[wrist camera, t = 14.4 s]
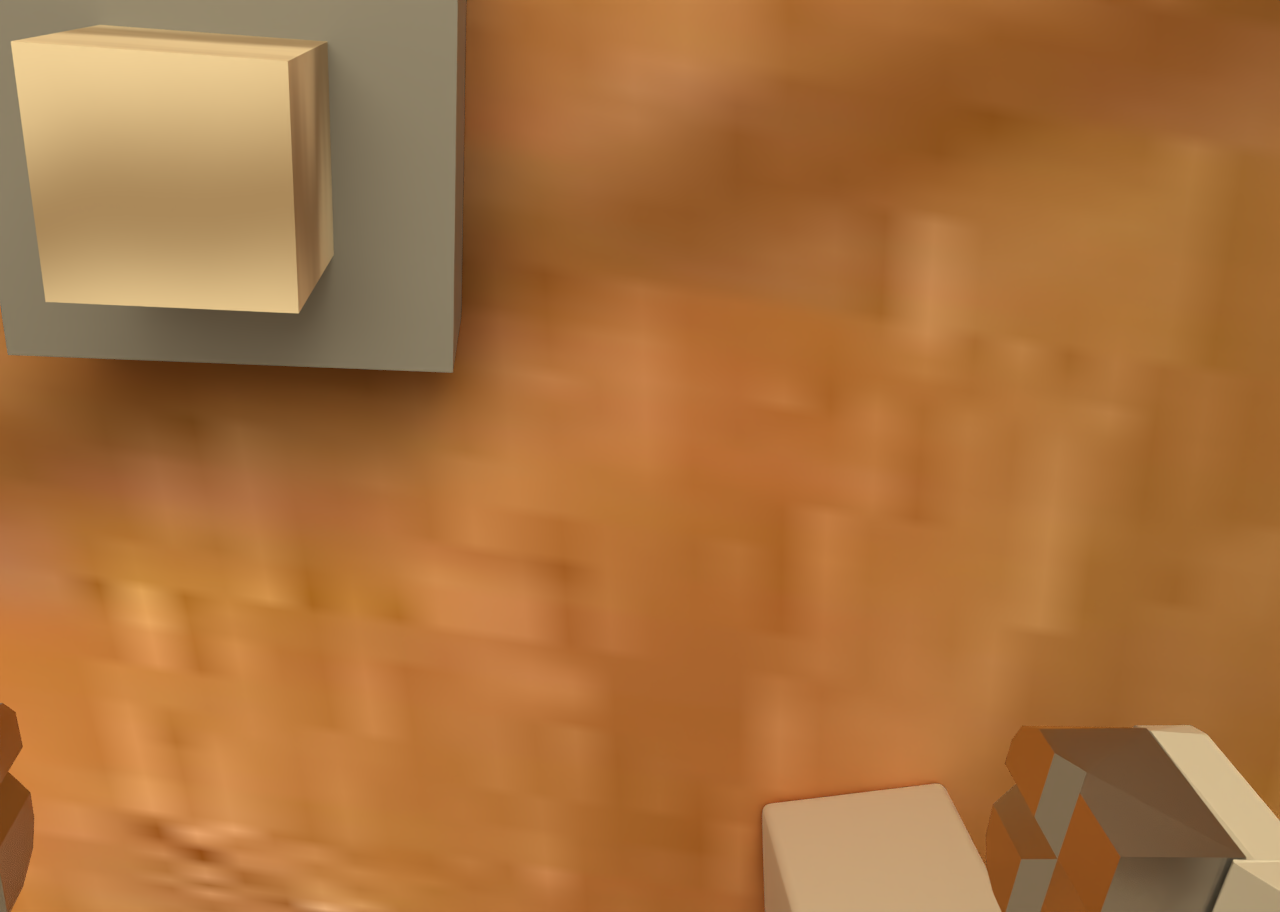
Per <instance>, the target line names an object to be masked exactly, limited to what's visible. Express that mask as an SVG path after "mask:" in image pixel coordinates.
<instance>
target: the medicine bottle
mask: <svg viewBox="0 0 1280 912" xmlns="http://www.w3.org/2000/svg"><path fill="white" fill-rule="evenodd" d="M762 835H763V869H764V903H765V912H1001V909H1000V907H999V905H998V903H997V901H996V898H995V896H994V894H993V891H992V887H991V883H990V879H989V875H988V871H987V869H986V867H985V865H984V863H983V861H982V859H981V857H980V855H979V853H978V851H977V849H976V847H975V845H974V843H973V841H972V839H971V837H970V835H969V833H968V831H967V829H966V827H965V825H964V823H963V821H962V819H961V818H960V816H959V814H958V812H957V810H956V808H955V806H954V804H953V802H952V800H951V798H950V796H949V794H948V792H947V790H946V788H945V787H944V786H942V785H941V784H937V783H935V784H926V785H918V786H910V787H902V788H894V789H885V790H877V791H869V792H861V793H852V794H844V795H836V796H828V797H819V798H811V799H803V800H795V801H787V802H778V803H770V804H767V805H766V806H765V807H763V810H762Z"/></svg>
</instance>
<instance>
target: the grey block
mask: <svg viewBox="0 0 1280 912" xmlns="http://www.w3.org/2000/svg"><path fill="white" fill-rule="evenodd" d="M96 25H110V26H124V27H137V28H151V29H165V30H178V31H192V32H205V33H219V34H232V35H246V36H259V37H273V38H286V39H300V40H313V41H327V42H328V75H329V109H330V143H331V176H332V210H333V244H334V255H333V257H332V259H331V260H330V262H329V264H328V265H327V267H326V269H325V270H324V272H323V274H322V275H321V277H320V279H319V280H318V282H317V284H316V285H315V287H314V289H313V290H312V292H311V294H310V295H309V297H308V299H307V300H306V302H305V304H304V305H303V307H302V309H301V310H300V312H299V313H277V312H255V311H234V310H212V309H190V308H168V307H146V306H124V305H102V304H80V303H58V302H46V301H45V294H44V286H43V279H42V271H41V264H40V256H39V249H38V242H37V234H36V227H35V219H34V212H33V204H32V197H31V189H30V182H29V175H28V167H27V160H26V152H25V145H24V137H23V130H22V122H21V115H20V108H19V100H18V93H17V85H16V78H15V70H14V63H13V55H12V48H11V41H15V40H21V39H26V38H31V37H37V36H42V35H48V34H53V33H58V32H64V31H69V30H75V29H80V28H85V27H91V26H96ZM465 60H466V0H0V306H1V312H2V319H3V326H4V332H5V339H6V346H7V352H8V355H25V356H50V357H75V358H100V359H125V360H150V361H174V362H199V363H224V364H249V365H274V366H299V367H324V368H349V369H374V370H399V371H424V372H449V373H453V368H454V362H455V355H456V349H457V342H458V336H459V329H460V323H461V311H462V249H463V186H464V123H465Z"/></svg>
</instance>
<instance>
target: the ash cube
mask: <svg viewBox="0 0 1280 912" xmlns="http://www.w3.org/2000/svg"><path fill="white" fill-rule="evenodd" d="M11 48H12V55H13V63H14V70H15V78H16V85H17V93H18V100H19V108H20V115H21V122H22V130H23V137H24V145H25V152H26V160H27V167H28V175H29V182H30V189H31V197H32V204H33V212H34V219H35V227H36V234H37V242H38V249H39V256H40V264H41V271H42V279H43V286H44V294H45V301H46V302H58V303H80V304H102V305H124V306H146V307H168V308H190V309H212V310H234V311H255V312H277V313H299V312H300V310H301V309H302V307H303V305H304V304H305V302H306V300H307V299H308V297H309V295H310V294H311V292H312V290H313V289H314V287H315V285H316V284H317V282H318V280H319V279H320V277H321V275H322V274H323V272H324V270H325V269H326V267H327V265H328V264H329V262H330V260H331V259H332V257H333V255H334V244H333V210H332V176H331V143H330V109H329V75H328V42H327V41H313V40H300V39H286V38H273V37H259V36H246V35H232V34H219V33H205V32H192V31H178V30H165V29H151V28H137V27H124V26H110V25H96V26H91V27H85V28H80V29H75V30H69V31H64V32H58V33H53V34H48V35H42V36H37V37H31V38H26V39H21V40H15V41H11Z"/></svg>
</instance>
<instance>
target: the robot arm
mask: <svg viewBox="0 0 1280 912" xmlns="http://www.w3.org/2000/svg"><path fill="white" fill-rule="evenodd" d="M22 747H23V745H22V741H21V736H20V731H19V726H18V722H17V717H16V712H14V711H13V710H12V709H10V708H9V707H8V706H6V705H5V704H3V703H0V912H11V910H12V908H13V906H14V904H15V902H16V900H17V898H18V896H19V894H20V892H21V890H22V888H23V885H24V881H25V877H26V873H27V870H28V866H29V862H30V858H31V854H32V850H33V836H34V814H33V807H32V800H31V793H30V792H29V791H28V790H27V789H26V788H25V787H24V786H23V785H22V784H21V783H20V782H19V781H18V780H17V779H15V778H14V777H13V776H12V775H11V774H10V773H9V772H8V771H9V769H10V767H11V766H12V764H13V762H14V761H15V759H16V757H17V756H18V754H19V752H20V751H21V749H22ZM1005 765H1006V766H1007V768H1008V770H1009V772H1010V774H1011V776H1012V777H1013V779H1014V781H1015V783H1016V784H1015V785H1014V786H1013V787H1012V788H1011V789H1010V790H1009V791H1008V792H1006V793H1005V794H1004V795H1003V796H1002V797H1001V798H1000V799H999V800H997V801H996V802H995V803H994V804H993V807H992V811H991V815H990V819H989V823H988V827H987V832H986V865H987V871H988V875H989V879H990V883H991V887H992V891H993V894H994V896H995V898H996V901H997V903H998V905H999V907H1000V909H1001V912H1280V821H1279V819H1278V818H1277V817H1276V816H1275V815H1274V813H1273V812H1272V811H1271V810H1270V809H1269V808H1268V806H1267V805H1266V804H1265V803H1264V802H1263V800H1262V799H1261V798H1260V797H1259V796H1258V794H1257V793H1256V792H1255V791H1254V790H1253V788H1252V787H1251V786H1250V785H1249V784H1248V782H1247V781H1246V780H1245V779H1244V778H1243V777H1242V775H1241V774H1240V773H1239V772H1238V771H1237V769H1236V768H1235V767H1234V766H1233V765H1232V763H1231V762H1230V761H1229V760H1228V759H1227V757H1226V756H1225V755H1224V754H1223V753H1222V751H1221V750H1220V749H1219V748H1218V747H1217V746H1216V744H1215V743H1214V742H1213V741H1212V740H1211V738H1210V737H1209V736H1208V735H1207V734H1206V733H1204V732H1202V731H1201V730H1199V729H1197V728H1195V727H1193V726H1191V725H1135V726H1134V727H1081V726H1022V727H1021V728H1020V730H1019V731H1018V732H1017V734H1016V735H1015V736H1014V738H1013V739H1012V741H1011V745H1010V748H1009V751H1008V754H1007V758H1006V761H1005Z"/></svg>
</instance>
